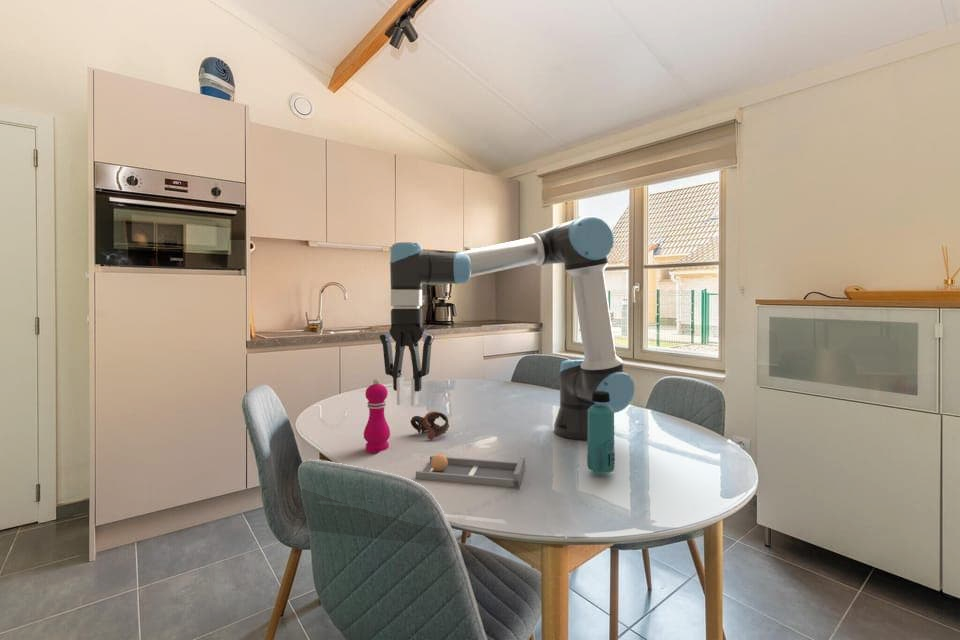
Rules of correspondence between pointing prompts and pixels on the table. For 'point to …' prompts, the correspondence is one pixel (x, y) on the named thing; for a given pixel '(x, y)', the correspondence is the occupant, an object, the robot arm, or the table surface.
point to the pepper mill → (376, 419)
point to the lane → (477, 472)
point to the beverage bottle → (600, 435)
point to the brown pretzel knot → (430, 424)
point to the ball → (439, 462)
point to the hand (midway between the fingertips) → (407, 403)
